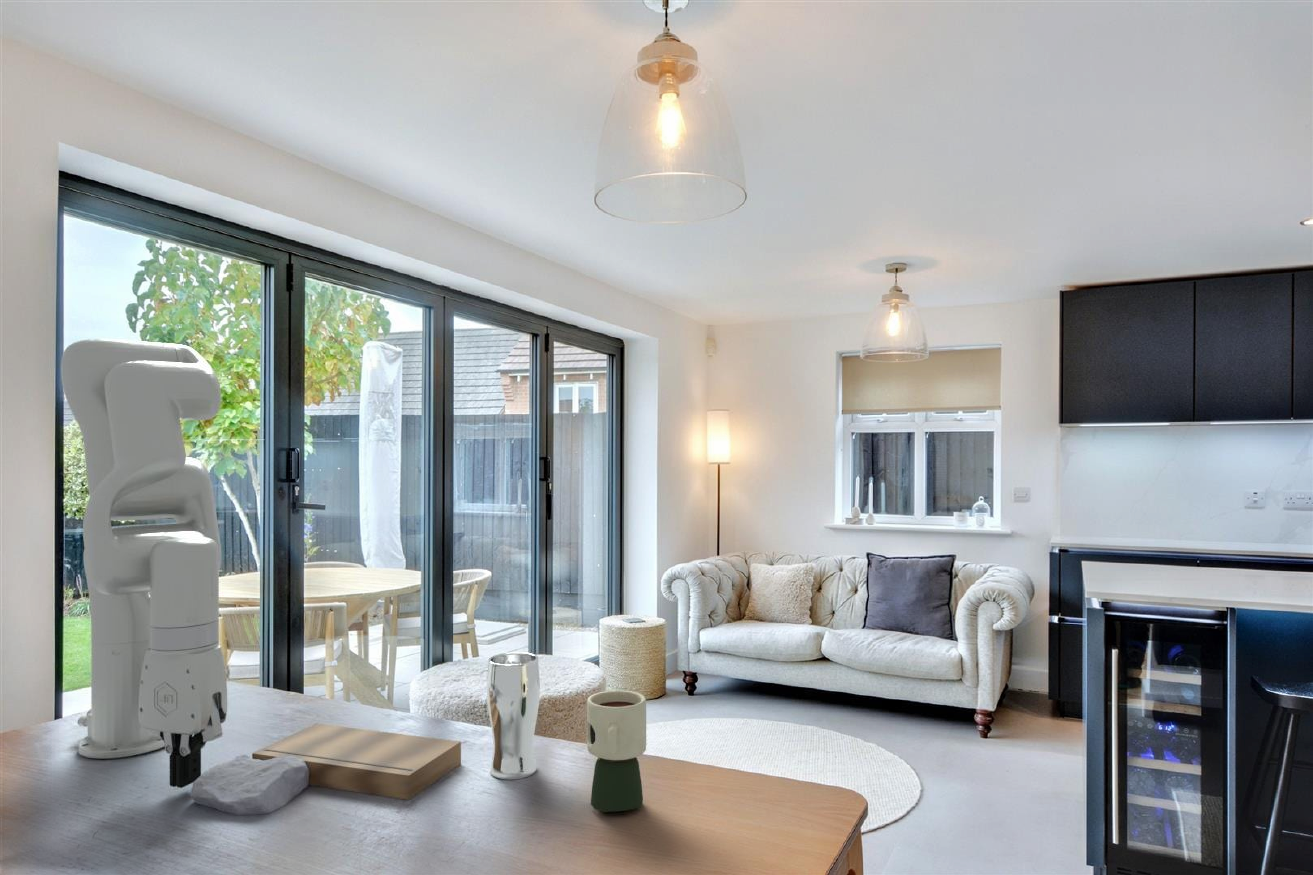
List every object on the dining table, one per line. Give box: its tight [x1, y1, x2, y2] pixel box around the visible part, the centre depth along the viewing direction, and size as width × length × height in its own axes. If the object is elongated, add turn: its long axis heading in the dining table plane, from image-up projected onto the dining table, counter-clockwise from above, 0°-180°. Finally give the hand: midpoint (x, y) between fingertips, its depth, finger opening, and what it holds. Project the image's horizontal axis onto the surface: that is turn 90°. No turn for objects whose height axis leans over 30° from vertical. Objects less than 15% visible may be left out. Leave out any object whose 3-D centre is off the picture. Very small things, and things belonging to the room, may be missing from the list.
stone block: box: [189, 754, 309, 816], centre depth 102 cm, size 12×5×10 cm
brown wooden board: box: [251, 723, 462, 801], centre depth 111 cm, size 24×12×3 cm, turn 72°
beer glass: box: [486, 651, 541, 781], centre depth 110 cm, size 7×7×15 cm
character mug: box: [586, 689, 647, 813], centre depth 99 cm, size 11×7×13 cm, turn 177°
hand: (185, 782), depth 104 cm, fingers closed
